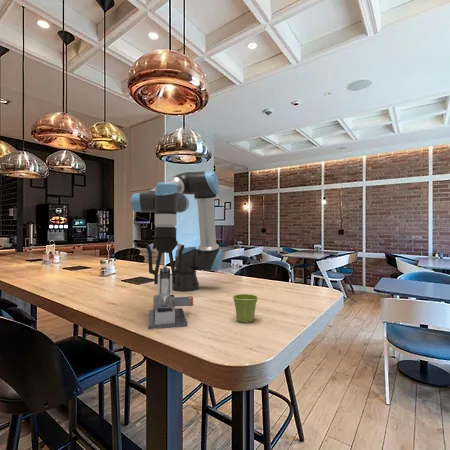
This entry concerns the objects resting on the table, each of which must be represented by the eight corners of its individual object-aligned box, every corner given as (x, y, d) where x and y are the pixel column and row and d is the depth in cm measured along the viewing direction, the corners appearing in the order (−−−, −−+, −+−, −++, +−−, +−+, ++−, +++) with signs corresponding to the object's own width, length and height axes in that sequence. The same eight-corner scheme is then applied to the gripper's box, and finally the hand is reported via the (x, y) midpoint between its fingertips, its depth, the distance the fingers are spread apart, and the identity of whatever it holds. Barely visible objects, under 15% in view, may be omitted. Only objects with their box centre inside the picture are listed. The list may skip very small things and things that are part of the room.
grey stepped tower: (169, 301, 101) (169, 265, 102) (170, 305, 95) (170, 268, 96) (159, 301, 100) (159, 266, 101) (159, 306, 95) (160, 268, 95)
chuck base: (182, 310, 114) (182, 298, 114) (187, 326, 96) (187, 311, 96) (149, 312, 111) (149, 300, 111) (148, 329, 93) (148, 314, 93)
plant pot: (231, 316, 107) (231, 293, 107) (255, 316, 108) (255, 293, 108) (234, 324, 98) (234, 300, 98) (260, 324, 99) (260, 299, 99)
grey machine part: (191, 307, 114) (192, 280, 114) (194, 313, 107) (194, 284, 107) (153, 309, 111) (153, 282, 111) (153, 315, 103) (153, 286, 103)
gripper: (187, 227, 104) (187, 290, 104) (141, 226, 100) (140, 292, 100) (190, 226, 97) (189, 294, 96) (140, 226, 93) (139, 296, 92)
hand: (164, 293), depth 98 cm, fingers closed on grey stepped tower, 3 cm apart
